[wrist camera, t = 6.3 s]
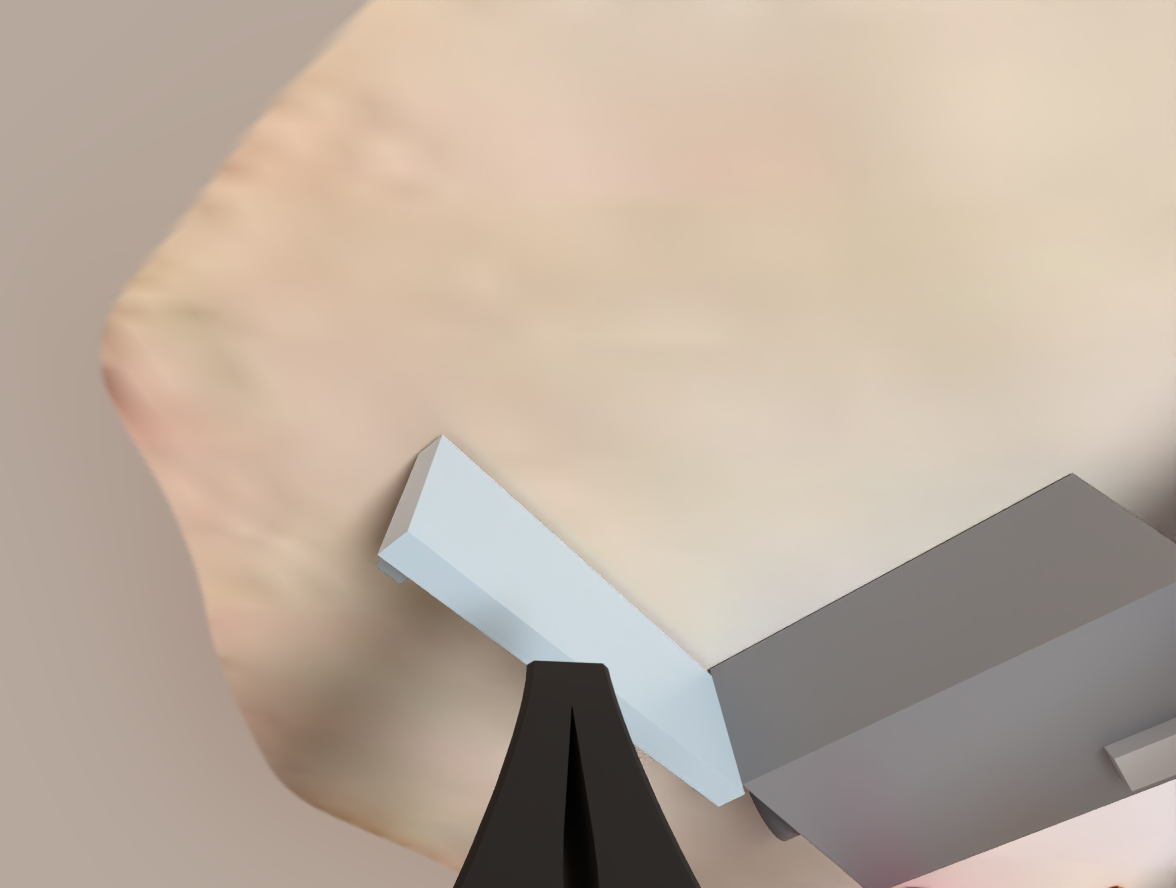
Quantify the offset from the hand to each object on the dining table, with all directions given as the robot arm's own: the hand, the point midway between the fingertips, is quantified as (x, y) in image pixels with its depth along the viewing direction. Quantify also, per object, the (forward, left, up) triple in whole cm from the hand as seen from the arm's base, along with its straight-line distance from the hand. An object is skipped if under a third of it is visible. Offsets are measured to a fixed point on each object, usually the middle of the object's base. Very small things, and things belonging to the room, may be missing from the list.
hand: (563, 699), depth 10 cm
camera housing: (-5, +16, -8) cm, 19 cm away
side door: (+3, +4, -8) cm, 9 cm away
